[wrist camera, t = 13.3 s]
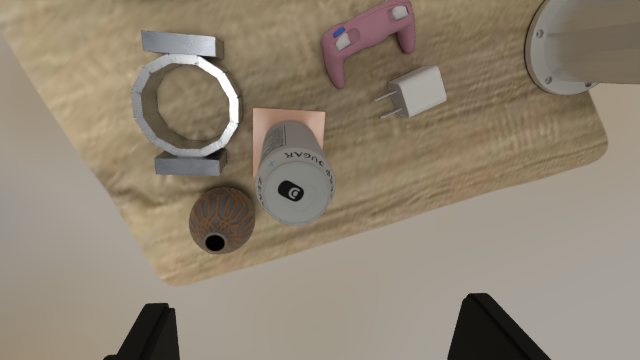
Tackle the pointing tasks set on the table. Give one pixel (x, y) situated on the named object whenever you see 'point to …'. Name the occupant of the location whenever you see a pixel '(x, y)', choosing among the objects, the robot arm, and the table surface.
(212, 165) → the ring holder
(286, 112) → the coaster
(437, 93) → the usb wall charger
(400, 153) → the table surface
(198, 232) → the vase
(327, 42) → the video game controller
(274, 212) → the energy drink can
